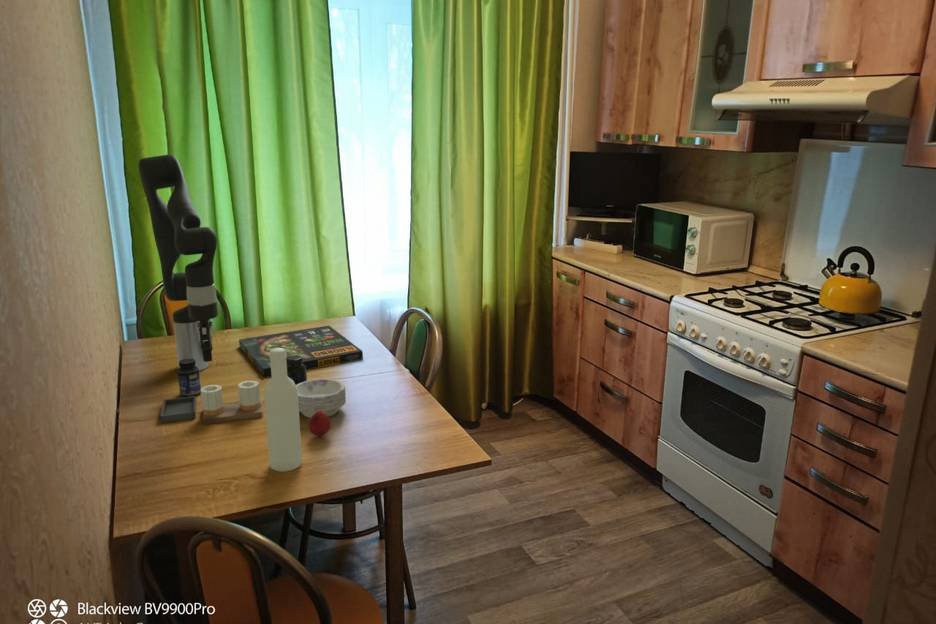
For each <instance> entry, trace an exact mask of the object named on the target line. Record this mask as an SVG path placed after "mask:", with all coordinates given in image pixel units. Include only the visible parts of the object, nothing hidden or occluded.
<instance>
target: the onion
mask: <svg viewBox="0 0 936 624" xmlns="http://www.w3.org/2000/svg"><path fill="white" fill-rule="evenodd" d="M331 421H332V420H331V418H330V416H329V417H328V416H327V415H326V414H324V413H322V410H321V409H319V410H318V411H317V412H316V413H315V414H314V415H313V416H312V417H311V418H309V421H308V430H309V431H310V432H311V434H312V435H313V436H316V437H318V438H323V437H324V436H325V435H327V433H328V432H329V431H330V430H331V427H332V422H331Z"/></svg>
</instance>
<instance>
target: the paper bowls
mask: <svg viewBox="0 0 936 624" xmlns="http://www.w3.org/2000/svg"><path fill="white" fill-rule="evenodd" d="M296 387H297V393H298V408H299V412H300V413H301V414H302V415H303V416H304V417H306V418H308V419H310V418H311V417H312V416H313V415H314V414H315V413H316V412H317V411H318V410H319V409H321V410H322V413H324V414H326V415H327V416H328V417H329V418H330V417H332V416H334V415H335V414H336V413H337V412H338V410H339V409H340V408H342V407H343V406H344V405H345V404H346V402H347V401H346V399H347V397H346V396H347V395H346V394H347V393H346V385H345V384H344V383H343V382H342V381H340V380H337V379H333V378H332V379H331V378H318V379H309V380H308V379H307V381H304V382H301V383H299V384H297V385H296Z"/></svg>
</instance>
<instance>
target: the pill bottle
mask: <svg viewBox="0 0 936 624" xmlns="http://www.w3.org/2000/svg"><path fill="white" fill-rule="evenodd" d="M195 364H196V362H195V359H192V358H188V359H183V360H180V361H179V365H178V369H177V372H176V373H177V380H178V381H177V382H178V389H179V394H180V396H181V398H183V397H192V396H196V397H198V396H200V395H201V388H202V387H201V377H200V371H199V369H198V367H196V366H195ZM179 366H180V368H179Z"/></svg>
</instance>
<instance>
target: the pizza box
mask: <svg viewBox="0 0 936 624" xmlns="http://www.w3.org/2000/svg"><path fill="white" fill-rule="evenodd" d="M238 342H239V348H240V349H241V351H242V352H243V353H244V354H245V355H246V356H247V358H248V359H249V361H251V363H252V364H253V366H254V367H255V368H256V369H257V371H259V373H260V374H261V375H262V377H263V378H267V377H272V375H271V362H270V358H269V356H270V350H272V349H274V348H283V349H285V350H286V355H287V356H286V358H287V357H288V356H292V355H300V356H302V361H303V363H302V364H304V365H305V366H306V371H307V370H311V369H315V368H321V367H327V366H334V365H338V364H344V363H348V362H349V363H350V362H355V361H359V360H364V354H363V353H364V352H363V350H362V349H361V348H360V347H358V346H357V345H355V343H352V341H350V340H348V339H347V338H346V337H345V336H344V335H342V334H341V333H340V332H338V331H337V330H336V329H334V328H333V327H332V326H330V325H325V326H318V327H310V328H306V329H305V328H304V329H298V330H291V331H284V332H278V333H271V334H266V335H259V336H252V337H246V338H239V339H238Z"/></svg>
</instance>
